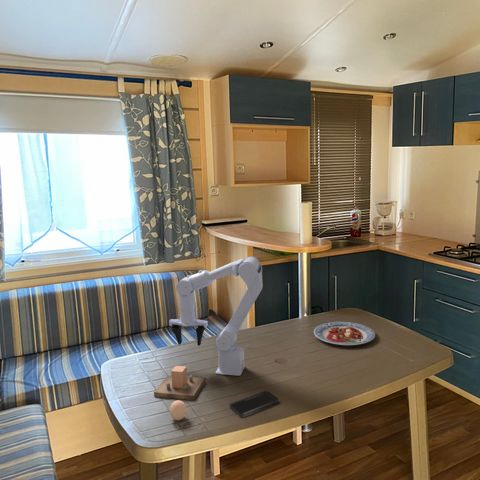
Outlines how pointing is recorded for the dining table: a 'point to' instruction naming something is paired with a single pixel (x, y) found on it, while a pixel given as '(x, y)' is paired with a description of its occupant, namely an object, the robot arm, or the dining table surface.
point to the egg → (178, 410)
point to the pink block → (179, 376)
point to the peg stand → (186, 392)
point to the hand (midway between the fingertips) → (189, 344)
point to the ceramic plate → (344, 333)
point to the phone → (254, 403)
